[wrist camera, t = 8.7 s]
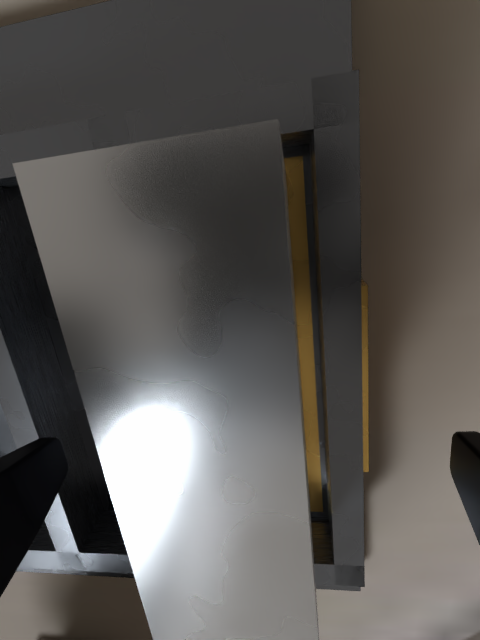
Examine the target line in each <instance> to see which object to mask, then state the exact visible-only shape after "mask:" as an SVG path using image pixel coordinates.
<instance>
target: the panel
mask: <svg viewBox="0 0 480 640" xmlns="http://www.w3.org/2000/svg"><path fill="white" fill-rule="evenodd" d="M12 164H13V168H14V171H15V174H16V178H17V181H18V185H19V188H20V191H21V195H22V198H23V201H24V205H25V208H26V212H27V215H28V218H29V222H30V225H31V229H32V232H33V235H34V239H35V242H36V245H37V249H38V252H39V256H40V259H41V262H42V266H43V269H44V272H45V276H46V279H47V283H48V286H49V289H50V293H51V296H52V300H53V303H54V306H55V310H56V313H57V316H58V320H59V323H60V327H61V330H62V333H63V337H64V340H65V344H66V347H67V350H68V354H69V357H70V360H71V364H72V367H73V371H74V374H75V377H76V381H77V384H78V387H79V391H80V394H81V398H82V401H83V404H84V408H85V411H86V415H87V418H88V421H89V425H90V428H91V431H92V435H93V438H94V442H95V445H96V448H97V452H98V455H99V458H100V462H101V465H102V469H103V472H104V475H105V479H106V482H107V486H108V489H109V492H110V496H111V499H112V502H113V506H114V509H115V513H116V516H117V519H118V523H119V526H120V529H121V533H122V536H123V540H124V543H125V546H126V550H127V553H128V557H129V560H130V563H131V567H132V570H133V573H134V577H135V580H136V584H137V587H138V590H139V594H140V597H141V600H142V604H143V607H144V611H145V614H146V617H147V621H148V624H149V628H150V631H151V634H152V638H153V640H319V628H318V613H317V599H316V584H315V569H314V555H313V540H312V525H311V510H310V496H309V483H308V469H307V455H306V442H305V428H304V414H303V401H302V387H301V374H300V360H299V347H298V333H297V319H296V306H295V292H294V278H293V265H292V251H291V238H290V224H289V210H288V197H287V183H286V172H285V164H284V157H283V149H282V141H281V134H280V126H279V119H275V120H269V121H263V122H257V123H251V124H245V125H239V126H233V127H227V128H221V129H215V130H209V131H203V132H197V133H191V134H185V135H179V136H173V137H167V138H161V139H156V140H150V141H144V142H138V143H132V144H126V145H120V146H114V147H108V148H102V149H96V150H90V151H84V152H78V153H72V154H66V155H60V156H54V157H48V158H42V159H36V160H30V161H24V162H18V163H12Z"/></svg>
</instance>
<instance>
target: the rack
mask: <svg viewBox="0 0 480 640" xmlns="http://www.w3.org/2000/svg"><path fill="white" fill-rule="evenodd" d="M275 119H279V126H280V134H281V141H282V149H283V157H284V164H285V172H286V183H287V197H288V210H289V224H290V238H291V251H292V265H293V278H294V292H295V306H296V319H297V333H298V347H299V360H300V374H301V387H302V401H303V414H304V428H305V442H306V455H307V469H308V483H309V496H310V510H311V525H312V540H313V555H314V569H315V584H316V589H331V590H348V591H360V587H365V583H364V491H363V472H369V431H368V285H367V284H366V283H365V282H364V281H363V280H362V279H361V217H360V125H359V70H354V71H352V30H351V0H110V1H106V2H102V3H98V4H94V5H90V6H86V7H81V8H77V9H73V10H69V11H65V12H61V13H57V14H53V15H48V16H44V17H40V18H36V19H32V20H28V21H24V22H19V23H15V24H11V25H7V26H3V27H0V457H2V456H4V455H6V454H8V453H10V452H12V451H14V450H16V449H18V448H20V447H22V446H24V445H26V444H29V443H31V442H33V441H35V440H37V439H39V438H42V437H56V438H58V439H59V440H60V441H61V443H62V446H63V449H64V452H65V455H66V458H67V461H68V473H67V476H66V478H65V480H64V482H63V484H62V486H61V488H60V490H59V492H58V494H57V496H56V498H55V500H54V502H53V504H52V506H51V508H50V510H49V512H48V514H47V516H46V518H45V520H44V522H43V524H42V526H41V528H40V530H39V532H38V534H37V536H36V538H35V540H34V541H33V543H32V545H31V547H30V548H29V550H28V552H27V553H26V555H25V557H24V558H23V560H22V562H21V563H20V565H19V567H18V568H17V570H16V571H24V572H41V573H58V574H75V575H92V576H109V577H126V578H135V577H134V573H133V570H132V567H131V563H130V560H129V557H128V553H127V550H126V546H125V543H124V540H123V536H122V533H121V529H120V526H119V523H118V519H117V516H116V513H115V509H114V506H113V502H112V499H111V496H110V492H109V489H108V486H107V482H106V479H105V475H104V472H103V469H102V465H101V462H100V458H99V455H98V452H97V448H96V445H95V442H94V438H93V435H92V431H91V428H90V425H89V421H88V418H87V415H86V411H85V408H84V404H83V401H82V398H81V394H80V391H79V387H78V384H77V381H76V377H75V374H74V371H73V367H72V364H71V360H70V357H69V354H68V350H67V347H66V344H65V340H64V337H63V333H62V330H61V327H60V323H59V320H58V316H57V313H56V310H55V306H54V303H53V300H52V296H51V293H50V289H49V286H48V283H47V279H46V276H45V272H44V269H43V266H42V262H41V259H40V256H39V252H38V249H37V245H36V242H35V239H34V235H33V232H32V229H31V225H30V222H29V218H28V215H27V212H26V208H25V205H24V201H23V198H22V195H21V191H20V188H19V185H18V181H17V178H16V174H15V171H14V168H13V164H12V163H18V162H24V161H30V160H36V159H42V158H48V157H54V156H60V155H66V154H72V153H78V152H84V151H90V150H96V149H102V148H108V147H114V146H120V145H126V144H132V143H138V142H144V141H150V140H156V139H161V138H167V137H173V136H179V135H185V134H191V133H197V132H203V131H209V130H215V129H221V128H227V127H233V126H239V125H245V124H251V123H257V122H263V121H269V120H275Z"/></svg>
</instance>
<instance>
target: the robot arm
mask: <svg viewBox="0 0 480 640" xmlns="http://www.w3.org/2000/svg"><path fill="white" fill-rule="evenodd" d="M450 470H451V475H452V478H453V480H454V483H455V485H456V488H457V490H458V493H459V495H460V498H461V500H462V503H463V505H464V508H465V510H466V513H467V515H468V518H469V520H470V523H471V525H472V528H473V530H474V532H475V535H476V537H477V540H478V542H479V545H480V433H478V432H475V431H466V432H456V433H454V434H453V437H452V445H451V457H450ZM67 473H68V461H67V458H66V455H65V452H64V449H63V446H62V443H61V441H60V440H59V439H58V438H56V437H42V438H39V439H37V440H35V441H33V442H31V443H29V444H26V445H24V446H22V447H20V448H18V449H16V450H14V451H12V452H10V453H8V454H6V455H4V456H2V457H0V597H1V595H2V594H3V592H4V590H5V589H6V587H7V585H8V584H9V582H10V580H11V579H12V577H13V575H14V573H15V572H16V570H17V568H18V567H19V565H20V563H21V562H22V560H23V558H24V557H25V555H26V553H27V552H28V550H29V548H30V547H31V545H32V543H33V541H34V540H35V538H36V536H37V534H38V532H39V530H40V528H41V526H42V524H43V522H44V520H45V518H46V516H47V514H48V512H49V510H50V508H51V506H52V504H53V502H54V500H55V498H56V496H57V494H58V492H59V490H60V488H61V486H62V484H63V482H64V480H65V478H66V476H67Z"/></svg>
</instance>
